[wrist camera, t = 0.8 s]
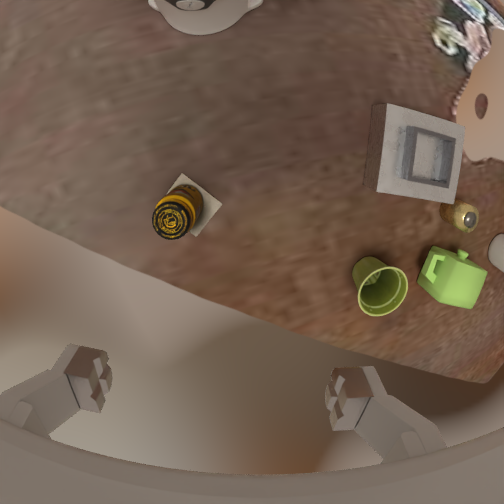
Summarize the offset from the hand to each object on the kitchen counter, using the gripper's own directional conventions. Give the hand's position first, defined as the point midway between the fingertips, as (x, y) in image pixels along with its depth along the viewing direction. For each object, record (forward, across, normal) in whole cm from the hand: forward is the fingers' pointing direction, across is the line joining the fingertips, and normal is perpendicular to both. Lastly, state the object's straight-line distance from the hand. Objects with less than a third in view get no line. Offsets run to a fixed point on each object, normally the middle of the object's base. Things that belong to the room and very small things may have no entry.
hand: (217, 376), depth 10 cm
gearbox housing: (+43, -29, -8) cm, 53 cm away
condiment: (+43, +8, +5) cm, 44 cm away
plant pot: (+43, -25, +15) cm, 52 cm away
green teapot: (+43, -44, +12) cm, 63 cm away
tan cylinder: (+43, -41, 0) cm, 60 cm away
